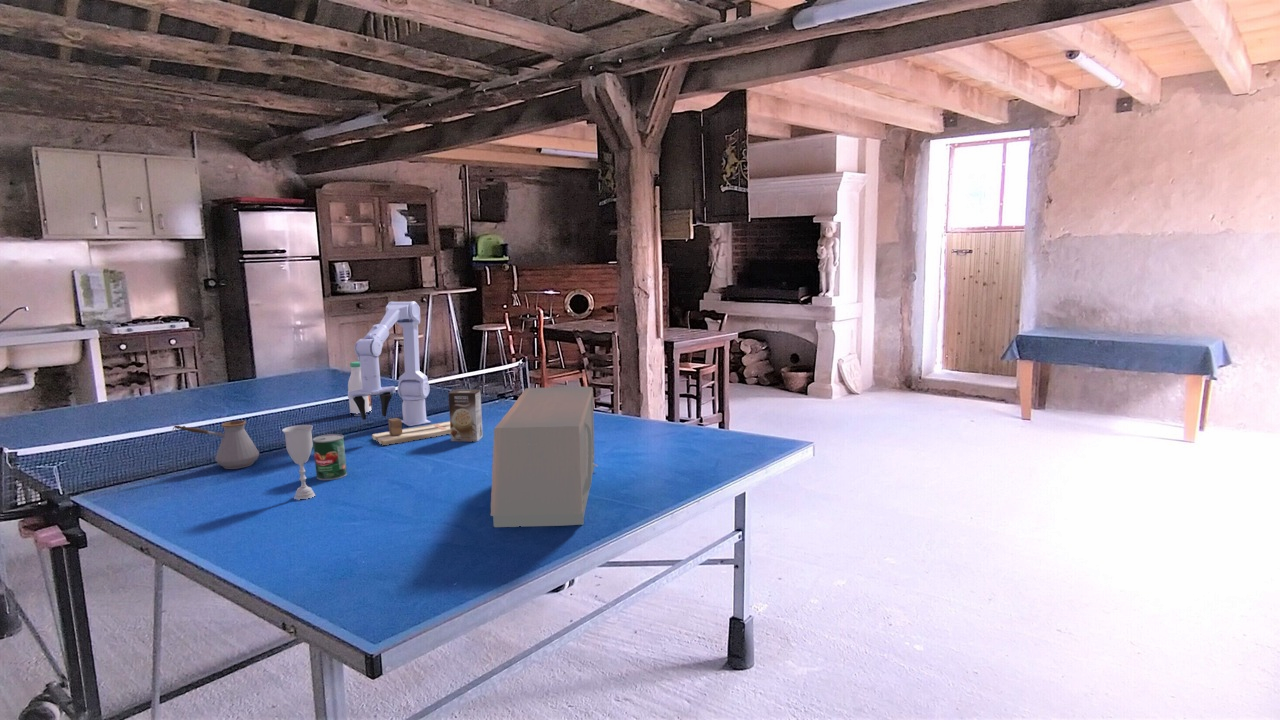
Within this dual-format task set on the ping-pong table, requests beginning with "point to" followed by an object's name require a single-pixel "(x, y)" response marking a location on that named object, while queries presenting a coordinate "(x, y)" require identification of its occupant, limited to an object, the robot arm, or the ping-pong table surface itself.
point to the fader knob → (395, 426)
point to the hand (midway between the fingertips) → (374, 417)
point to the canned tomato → (329, 457)
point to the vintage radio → (544, 458)
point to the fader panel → (414, 433)
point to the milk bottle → (357, 388)
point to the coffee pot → (232, 445)
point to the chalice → (300, 454)
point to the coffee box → (465, 415)
